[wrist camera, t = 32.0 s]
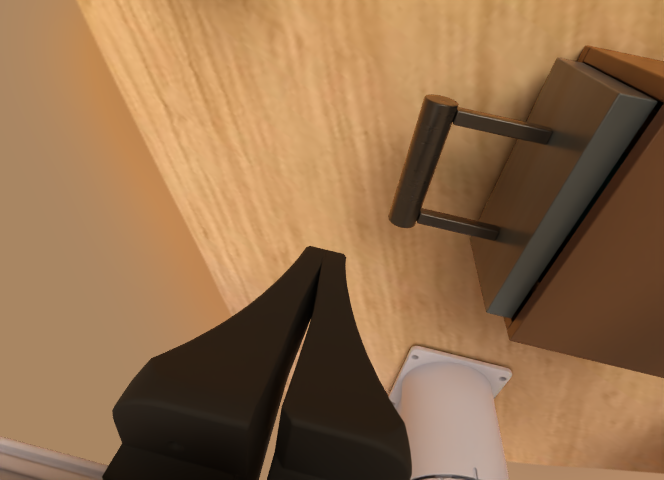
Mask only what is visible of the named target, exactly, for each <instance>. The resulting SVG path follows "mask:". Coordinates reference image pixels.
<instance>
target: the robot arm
mask: <svg viewBox="0 0 664 480" xmlns="http://www.w3.org/2000/svg"><path fill="white" fill-rule="evenodd" d="M345 262H346V257H345V255H344V254H341V253H337V252H333V251H329V250H325V249H320V248H316V247H312V246H308V247H306V248H305V250H304V251H303V253H302V254H301V255H300V257H299V258H298V259H297V260H296V261H295V263H294V264H293V265H292V266H291V267H290V268H289V269H288V270H287V271H286V272H285V273H284V274H283V275H282V276H281V277H280V278H279V279H278V280H277V281H276V282H275V283H274V284H273V285H272V286H271V287H270V288H269V289H267V290H266V291H265V292H264V293H263V294H262V295H261V296H259V297H258V298H257V299H256V300H254V301H253V302H252V303H251V304H249V305H248V306H247V307H245V308H244V309H242V310H241V311H240V312H238V313H237V314H235V315H234V316H232V317H231V318H229V319H228V320H226V321H225V322H223V323H221V324H220V325H218V326H216V327H215V328H213V329H211V330H210V331H208V332H206V333H204V334H202V335H200V336H199V337H196V338H195V339H193V340H191V341H189V342H187V343H185V344H183V345H181V346H178V347H176V348H174V349H172V350H169V351H167V352H165V353H163V354H161V355H158V356H156V357H153V358H151V359H150V360H149V362H148V363H147V364H146V365H145V366H144V367H143V368H142V369H141V371H140V372H139V373H138V374H137V375H136V377H134V379H133V380H132V381H131V383H130V384H129V386H128V387H127V388H126V390H125V391H124V393H123V394H122V396H121V397H120V399H119V400H118V402H117V403H116V405H115V406H114V408H113V419H114V422H115V425H116V427H117V430H118V433H119V436H120V438H121V441H122V445H121V446H120V448H119V450H118V451H117V453H116V455H115V456H114V458H113V459H112V461H111V463H110V464H109V466H108V465H104V464H101V463H97V462H94V461H90V460H86V459H83V458H79V457H75V456H71V455H68V454H64V453H61V452H57V451H53V450H49V449H45V448H42V447H38V446H35V445H31V444H27V443H24V442H20V441H16V440H12V439H9V438H5V437H2V436H0V480H259V477H260V473H261V469H262V466H263V462H264V458H265V455H266V451H267V447H268V444H269V441H270V437H271V434H272V430H273V427H274V423H275V420H276V416H277V413H278V409H279V406H280V402H281V399H282V395H283V392H284V388H285V385H286V381H287V379H288V376H289V373H290V370H291V367H292V365H293V362H294V360H295V357H296V355H297V352H298V350H299V347H300V345H301V342H302V339H303V337H304V334H305V332H306V329H307V327H308V324H309V322H310V319H311V322H310V325H309V328H308V331H307V334H306V337H305V340H304V344H303V347H302V350H301V353H300V356H299V359H298V362H297V365H296V368H295V371H294V374H293V377H292V379H291V382H290V385H289V388H288V391H287V394H286V397H285V399H284V402H283V405H282V409H281V415H280V422H279V428H278V435H277V441H276V448H275V453H274V456H273V460H272V463H271V467H270V470H269V474H268V477H267V480H509V476H508V470H507V465H506V460H505V455H504V450H503V444H502V439H501V434H500V429H499V424H498V419H497V414H496V408H495V403H494V398H495V397H496V396H497V394H498V393H499V392H500V391H501V389H502V388H503V387H504V386H505V384H506V383H507V382H508V381H509V379H510V378H511V377H512V372H511V370H510V369H509V368H506V367H502V366H498V365H494V364H490V363H486V362H482V361H478V360H474V359H470V358H465V357H461V356H457V355H453V354H449V353H445V352H441V351H437V350H433V349H429V348H425V347H421V346H413V347H411V349H410V351H409V353H408V355H407V357H406V359H405V361H404V364H403V366H402V368H401V370H400V372H399V374H398V376H397V379H396V381H395V383H394V385H393V387H392V389H391V391H390V394H389V396H388V395H387V393H386V391H385V390H384V388H383V386H382V384H381V382H380V381H379V378H378V376H377V374H376V372H375V370H374V368H373V366H372V364H371V362H370V360H369V358H368V355H367V353H366V350H365V348H364V345H363V343H362V340H361V337H360V335H359V332H358V329H357V326H356V322H355V319H354V315H353V312H352V308H351V303H350V299H349V293H348V288H347V281H346V270H345Z"/></svg>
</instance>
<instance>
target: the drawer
mask: <svg viewBox="0 0 664 480" xmlns="http://www.w3.org/2000/svg"><path fill="white" fill-rule="evenodd" d="M663 104H664V103H663V102H661V101H659V100H657V99H655V98H653V97H651V96H649V95H647V94H645V93H643V92H641V91H639V90H637V89H635V88H632V87H629V86H627V85H625V84H623V83H621V82H619V81H618V80H616V79H614V78H612V77H610V76H608V75H606V74H604V73H602V72H600V71H598V70H596V69H594V68H592V67H590V66H588V65H586V64H584V63H581V62H577V61H572V60H567V59H562V58H557V59H556V61H555V63H554V65H553V67H552V69H551V71H550V73H549V75H548V77H547V79H546V81H545V84H544V86H543V88H542V90H541V92H540V94H539V96H538V98H537V100H536V102H535V104H534V106H533V108H532V110H531V113H530V115H529V117H528V119H527V121H526V122H524V121H519V120H514V119H510V118H505V117H501V116H496V115H492V114H487V113H482V112H478V111H473V110H469V109H464V108H459V107H458V103H457V102H456V101H454V100H452V99H450V98H447V97H444V96H440V95H426V96H425V98H424V101H423V104H422V107H421V111H420V114H419V117H418V121H417V124H416V127H415V130H414V134H413V137H412V140H411V144H410V147H409V150H408V153H407V157H406V160H405V163H404V167H403V170H402V173H401V176H400V180H399V183H398V186H397V190H396V193H395V196H394V199H393V203H392V206H391V209H390V213H389V216H388V217H389V220H390V221H391V223H393V224H394V225H396V226H398V227H402V228H411V227H413V226H415V224H416V221H417V223H419V224H423V225H428V226H432V227H436V228H441V229H445V230H449V231H453V232H458V233H462V234H466V235H471V237H470V241H471V246H472V250H473V255H474V259H475V264H476V268H477V273H478V277H479V282H480V286H481V291H482V295H483V300H484V304H485V309H486V312H487V313H490V314H494V315H498V316H503V317H507V318H512V317H513V315H514V314H515V312H516V311H517V309H518V308H519V306H520V305H521V303H522V302H523V300H524V299H525V297H526V296H527V294H528V293H529V291H530V290H531V292H532V294H533V293H534V291H535V290H536V288H537V287H538V285H539V284H540V282H541V281H542V279H543V278H544V277H545V275H546V274H547V272H548V271H549V269H550V268H551V266H552V265H553V263H554V262H555V261H556V259H557V258H558V256H559V255H560V253H561V252H562V250H563V249H564V247H565V246H566V245H567V243H568V242H569V240H570V237H569V236H568V234H569V232H570V231H571V229H572V228H573V226H574V225H575V224H576V222H577V221H578V219H579V218H580V216H581V215H582V213H583V212H584V210H585V209H586V207H587V206H588V204H589V203H590V201H591V200H592V198H593V197H594V195H595V194H596V193H597V191H598V190H599V188H600V187H601V185H602V184H603V182H604V181H605V179H606V178H607V176H608V175H609V173H610V172H611V170H612V169H613V167H614V166H615V164H616V163H617V161H618V160H619V159H620V157H621V156H622V154H623V153H624V152H625V153H630V152H631V150H632V149H633V147H634V146H635V144H636V143H637V141H638V140H639V138H640V137H641V136H642V134H643V133H644V131H645V130H646V128H647V127H648V125H649V124H650V122H651V121H652V120H653V118H654V117H655V115H656V114H657V112H658V111H659V109H660V108H661V106H662V105H663ZM452 122H453V124H454V125H457V126H462V127H466V128H471V129H475V130H480V131H484V132H489V133H493V134H498V135H503V136H507V137H512V138H516V139H517V142H516V144H515V146H514V148H513V150H512V152H511V154H510V156H509V158H508V160H507V162H506V164H505V166H504V168H503V171H502V173H501V175H500V177H499V179H498V181H497V183H496V185H495V187H494V189H493V191H492V193H491V195H490V197H489V200H488V202H487V204H486V206H485V208H484V210H483V212H482V214H481V216H480V218H479V220H478V221H475V220H471V219H467V218H462V217H458V216H454V215H449V214H445V213H441V212H436V211H432V210H428V209H423V208H422V205H423V202H424V199H425V196H426V194H427V191H428V188H429V185H430V183H431V180H432V177H433V174H434V172H435V169H436V166H437V163H438V161H439V158H440V155H441V152H442V150H443V147H444V144H445V141H446V139H447V136H448V133H449V130H450V127H451V125H452Z"/></svg>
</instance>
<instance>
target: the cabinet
mask: <svg viewBox="0 0 664 480" xmlns="http://www.w3.org/2000/svg"><path fill="white" fill-rule="evenodd" d="M577 62H581V63H584V64H586V65H588V66H590V67H592V68H594V69H596V70H598V71H600V72H602V73H604V74H606V75H608V76H610V77H612V78H614V79H616V80H618V81H619V82H621V83H623V84H625V85H627V86H629V87H632V88H635V89H637V90H639V91H641V92H643V93H645V94H647V95H649V96H651V97H653V98H655V99H657V100H659V101H661V102H663V103H664V61H659V60H655V59H650V58H645V57H640V56H635V55H631V54H626V53H621V52H616V51H611V50H606V49H602V48H597V47H592V46H585V47H584V49H583V51H582V53H581V55H580V57H579V59H578V61H577ZM504 321H505V325H506V328H507V333H508V336H509V340H510V341H514V342H518V343H522V344H526V345H530V346H534V347H538V348H542V349H547V350H551V351H555V352H559V353H563V354H567V355H571V356H575V357H579V358H583V359H588V360H592V361H596V362H600V363H604V364H608V365H612V366H616V367H620V368H625V369H629V370H633V371H637V372H641V373H645V374H649V375H653V376H657V377H661V378H664V104H663V105H662V106H661V108H660V109H659V111H658V112H657V114H656V115H655V117H654V118H653V120H652V121H651V122H650V124H649V125H648V127H647V128H646V130H645V131H644V133H643V134H642V136H641V137H640V138H639V140H638V141H637V143H636V144H635V146H634V147H633V149H632V150H631V152H630V153H629V154H628V156H627V157H626V159H625V160H624V162H623V163H622V165H621V166H620V168H619V169H618V170H617V172H616V173H615V175H614V176H613V178H612V179H611V181H610V182H609V183H608V185H607V186H606V188H605V189H604V191H603V192H602V194H601V195H600V197H599V198H598V199H597V201H596V202H595V204H594V205H593V207H592V208H591V210H590V211H589V213H588V214H587V215H586V217H585V218H584V220H583V221H582V223H581V224H580V226H579V227H578V229H577V230H576V231H575V233H574V234H573V236H572V237H571V239H570V240H569V242H568V243H567V245H566V246H565V247H564V249H563V250H562V252H561V253H560V255H559V256H558V258H557V259H556V261H555V262H554V263H553V265H552V266H551V268H550V269H549V271H548V272H547V274H546V275H545V277H544V278H543V279H542V281H541V282H540V284H539V285H538V287H537V288H536V290H535V291H534V293H533V294H532V292H531V290H530V291H529V293H528V294H527V296H526V297H525V299H524V300H523V302H522V303H521V305H520V306H519V308H518V309H517V311H516V312H515V314H514V315H513V317H512V318H507V317H504Z"/></svg>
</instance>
